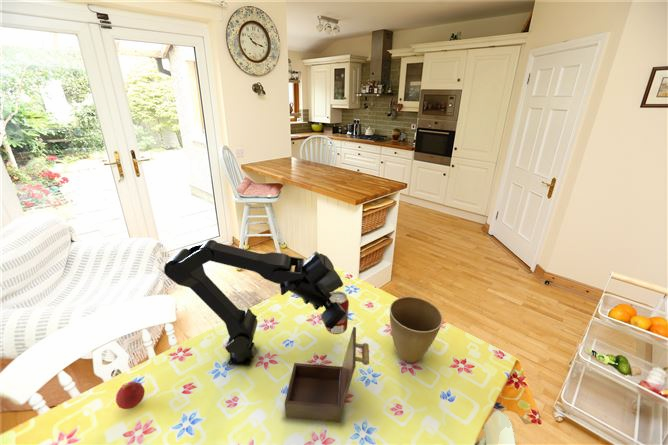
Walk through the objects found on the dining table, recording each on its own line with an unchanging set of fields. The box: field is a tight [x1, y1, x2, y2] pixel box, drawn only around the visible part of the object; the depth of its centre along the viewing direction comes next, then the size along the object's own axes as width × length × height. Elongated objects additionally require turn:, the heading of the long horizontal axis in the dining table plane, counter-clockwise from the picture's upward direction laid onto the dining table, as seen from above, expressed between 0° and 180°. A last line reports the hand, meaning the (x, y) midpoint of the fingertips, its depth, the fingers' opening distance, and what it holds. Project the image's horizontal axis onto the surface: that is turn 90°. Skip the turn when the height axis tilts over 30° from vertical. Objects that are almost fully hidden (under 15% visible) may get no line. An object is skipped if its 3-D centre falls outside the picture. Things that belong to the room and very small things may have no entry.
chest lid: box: [340, 326, 370, 408], centre depth 71 cm, size 14×12×4 cm
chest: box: [284, 362, 342, 423], centre depth 75 cm, size 14×12×5 cm
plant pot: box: [389, 296, 444, 364], centre depth 87 cm, size 15×15×16 cm
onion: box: [115, 381, 146, 410], centre depth 72 cm, size 6×6×8 cm
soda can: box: [325, 290, 350, 335], centre depth 88 cm, size 7×7×12 cm
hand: (341, 310), depth 88 cm, fingers closed on soda can, 7 cm apart
